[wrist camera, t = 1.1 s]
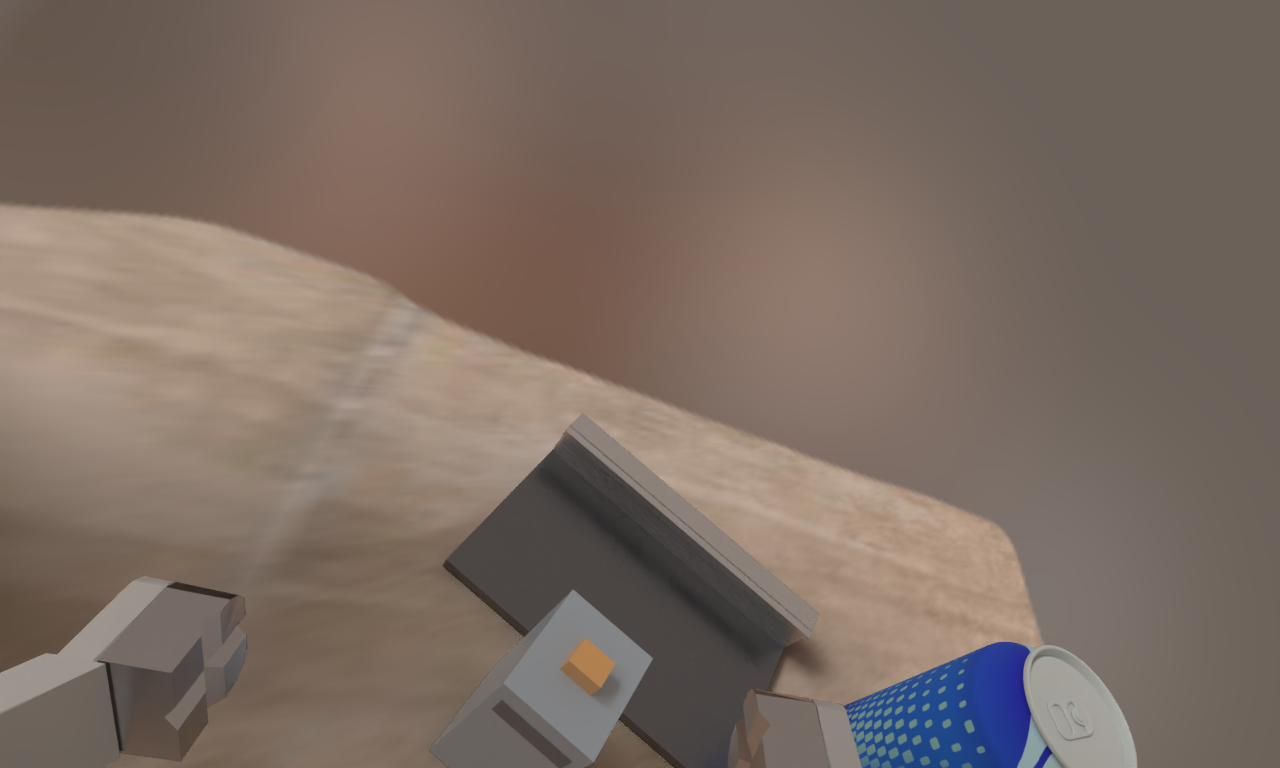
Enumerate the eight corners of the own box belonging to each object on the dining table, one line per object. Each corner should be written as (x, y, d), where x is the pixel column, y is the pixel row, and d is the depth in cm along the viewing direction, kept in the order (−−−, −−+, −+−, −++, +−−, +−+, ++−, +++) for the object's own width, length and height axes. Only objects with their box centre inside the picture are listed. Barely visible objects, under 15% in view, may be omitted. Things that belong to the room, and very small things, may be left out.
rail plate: (442, 565, 40) (461, 536, 38) (573, 429, 50) (595, 399, 48) (715, 802, 39) (753, 789, 37) (791, 615, 50) (826, 594, 47)
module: (428, 751, 34) (511, 676, 26) (493, 667, 38) (582, 579, 30) (498, 813, 34) (604, 757, 26) (556, 723, 38) (664, 649, 30)
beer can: (818, 684, 47) (1013, 593, 36) (918, 760, 47) (1142, 691, 37) (786, 810, 41) (1010, 744, 30) (901, 896, 41) (1165, 862, 30)
